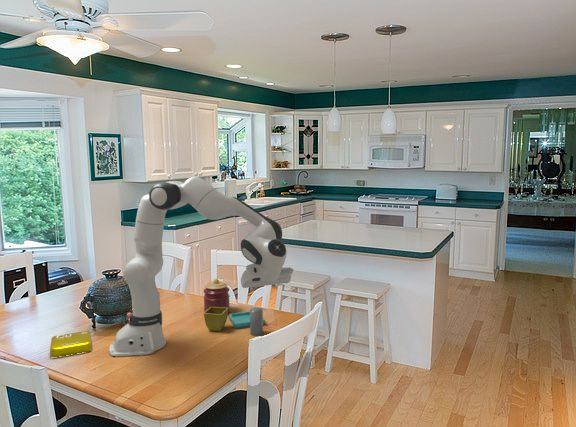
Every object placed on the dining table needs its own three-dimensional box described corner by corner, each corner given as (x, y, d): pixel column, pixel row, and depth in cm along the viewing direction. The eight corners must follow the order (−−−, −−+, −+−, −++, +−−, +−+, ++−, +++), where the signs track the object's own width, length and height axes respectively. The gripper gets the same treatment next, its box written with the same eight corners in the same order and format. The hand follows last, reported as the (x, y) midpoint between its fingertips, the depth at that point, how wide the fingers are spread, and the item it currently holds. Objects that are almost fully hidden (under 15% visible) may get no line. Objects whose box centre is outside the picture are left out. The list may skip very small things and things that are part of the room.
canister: (232, 308, 233) (231, 275, 231) (226, 317, 220) (225, 282, 218) (208, 307, 235) (207, 275, 232) (200, 316, 222) (199, 282, 220)
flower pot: (222, 333, 200) (221, 314, 199) (203, 332, 202) (203, 313, 201) (228, 326, 209) (228, 307, 208) (211, 325, 211) (210, 306, 210)
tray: (235, 329, 205) (235, 324, 205) (229, 318, 218) (229, 313, 218) (264, 325, 210) (264, 320, 209) (257, 315, 223) (257, 310, 223)
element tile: (50, 360, 177) (49, 348, 176) (52, 345, 190) (51, 335, 190) (92, 352, 183) (91, 341, 183) (91, 339, 197) (90, 328, 196)
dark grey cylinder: (252, 336, 197) (251, 312, 195) (249, 331, 202) (248, 308, 201) (264, 334, 198) (263, 310, 197) (261, 330, 204) (260, 306, 202)
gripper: (292, 260, 180) (285, 278, 191) (242, 265, 174) (237, 283, 184) (296, 274, 177) (288, 291, 187) (245, 279, 170) (240, 297, 181)
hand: (263, 287), depth 186 cm, fingers open, 8 cm apart
